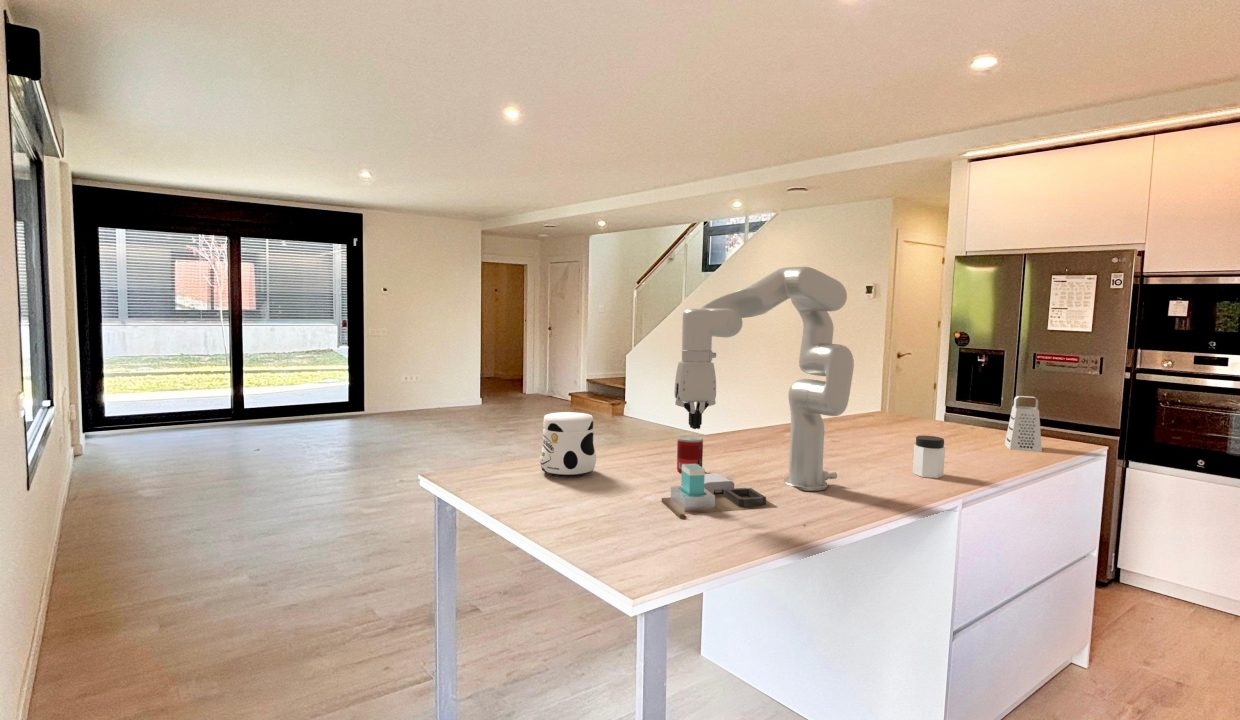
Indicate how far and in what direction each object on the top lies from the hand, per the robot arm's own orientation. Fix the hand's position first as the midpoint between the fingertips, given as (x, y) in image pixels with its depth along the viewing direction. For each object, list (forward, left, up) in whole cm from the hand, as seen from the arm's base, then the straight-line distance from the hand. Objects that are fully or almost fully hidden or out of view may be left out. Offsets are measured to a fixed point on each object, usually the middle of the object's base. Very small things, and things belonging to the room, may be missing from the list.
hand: (695, 427), depth 167 cm
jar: (-87, -16, -21) cm, 91 cm away
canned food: (-13, -35, -21) cm, 43 cm away
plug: (0, 0, -20) cm, 20 cm away
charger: (-10, -14, -22) cm, 28 cm away
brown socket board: (-7, 0, -21) cm, 22 cm away
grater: (-154, -43, -21) cm, 161 cm away
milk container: (+25, -41, -21) cm, 53 cm away
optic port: (0, 0, -21) cm, 21 cm away
